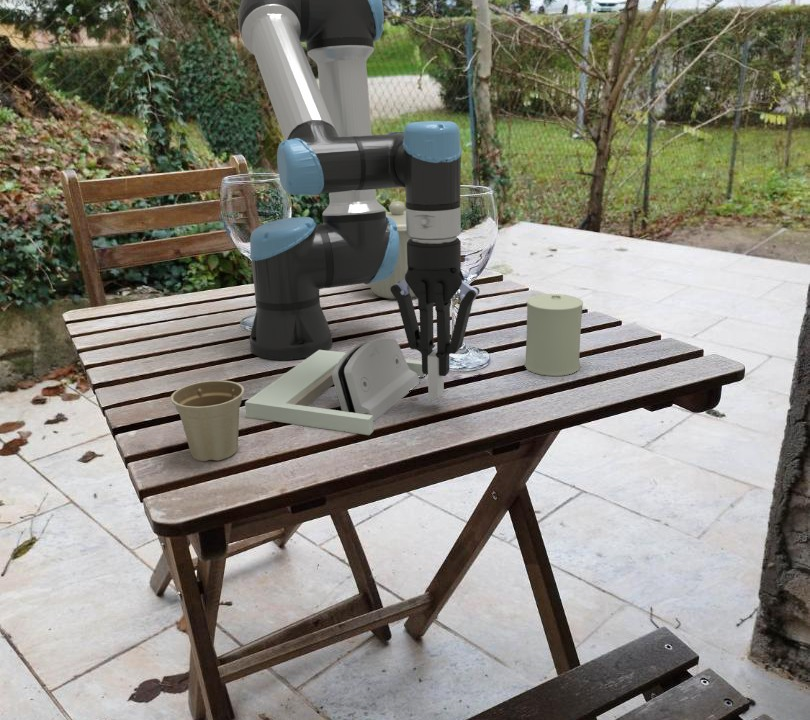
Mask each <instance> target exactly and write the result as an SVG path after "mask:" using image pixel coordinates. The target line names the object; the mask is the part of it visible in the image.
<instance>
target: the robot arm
mask: <svg viewBox="0 0 810 720" xmlns="http://www.w3.org/2000/svg"><path fill="white" fill-rule="evenodd" d="M237 14H238V16H237V22H238V23H237V24H238V29H239V33H240V37H241V40H242V42H243V44H244V47H245V48H246V49H247V51H248V52H249V53H251V54H252V55H253V56H254V57H255V60H256V63H257V66H258V68H259V72H260V75H261V77H262V80H263V83H264V86H265V89H266V90H267V91H266V92H267V94H268V98H269V101H270V103H271V106H272V109H273V111H274V114H275V117H276V120H277V122H278V125H279V128H280V131H281V134H282V138H283V141H281V142H280V143H279V144H278V146H277V151H276V154H277V155H276V158H277V159H276V162H277V163H276V164H277V165H276V167H277V172H278V176H279V182H280V185H281V188H282V189H283V190H284V192H286V193H287V194H289V195H293V196H294V195H297V196H299V195H300V196H302V195H303V196H304V195H310V196H317V195H319V194H320V195H321V194H328V197H329V203H328V205H327V206H326V208H325V209H324V211H323V212H322V223H321V224H316V222H315V221H314V219H313V218H311V217H310V216H298V217H293V216H292V217H287V218H282V219H276V220H272V221H270V222H267V223H264V224H261V225H259V226H258V227H256V228H255V229H254V230H253V231H252V233H250V234H251V235H250V239H249V240H250V241H249V243H250V245H249V247H250V250H249V252H250V254H249V258H250V260H251V267H252V277H253V288H254V298H255V308H256V309H255V314H254V318H253V323H252V327H251V331H250V335H249V336H250V337H249V346H250V351H251V353H252V354H253V355H254V356H256V357H259V358H262V359H267V360H276V361H277V360H278V361H291V360H299V359H307V358H308V357H310V356H311V355H312V354H314V353H315V352H317V351H318V350H326V351H329V350H330V349H331V347H332V346H333V337H332V336H333V335H332V330H331V328H330V326H329V323H328V321H327V318H326V316H325V314H324V311H323V309H322V306H321V301H320V300H321V299H320V290H322V289H332V288H337V287H338V288H339V287H346V286H353V285H354V286H355V285H361V284H365V285H370V283H372V282H377V281H383V280H386V279H388V278H389V277H390V276H391V275H392V273H393V272H394V269H395V268H396V265H397V261H398V256H399V233H398V232H397V225H396V223H395V221H394V220H393V219H391V218H389V217H386V212H387V211H386V207H384V206H383V205H382V204H381V203H380V202H379V201H378V199H377V190H380V189H381V190H382V189H393V188H404V189H405V190H404V192H405V211H406V226H407V235H408V236H409V237H410V238H411V239H409V240H408V242H407V264H408V270H407V273H406V274H405V279H404V280H403V281H401V282H398V283H396V284H395V285H393V286H392V287H391V288H390V290H391V292H392V294H393V296H394V297H395V299H394V300H395V301H397V305H398V310H399V314H400V317H401V320H402V324H403V329H404V332H405V333H404V334H405V336H406V340H407V344H408V348H409V349H411V350H416V351H418V352H419V353H420V355H421V361H422V372H423V374H427V384H428V386H427V389H428V394H427V397H428V398H430V399H439V397H440V396H442V394H443V393H444V392H445V391H444V390H445V387H444V384H445V383H444V377H446V376H447V375H449V372H450V355H451V354H456V353H458V351H459V350H460V349H461V348H462V346H463V343H464V339H465V334H466V332H467V331H466V330H467V327H468V323H469V320H470V319H469V318H470V315H471V311H472V307H473V303H474V301H476V299H477V297H478V296H479V294H480V292H481V291H480V288H479V287H477V286H471V285H470V284H468V283H467V282H466V281H465V276H464V274H463V272H462V258H461V257H462V255H461V254H462V250H461V249H462V245H461V244H462V241H461V240H460V239H459V236H460V235H461V234H462V233H461V232H462V230H461V228H462V227H461V226H462V225H461V223H462V222H461V217H462V216H461V215H462V214H461V178H462V177H461V173H462V171H461V169H462V168H461V167H462V165H461V162H462V161H461V158H462V147H461V137H460V136H461V135H460V127H459V125H458V124H457V123H455V122H454V121H451V120H450V121H448V120H445V121H442V120H427V121H413V122H409V123H407V124H406V125H405V127H404V129H403V131H397V132H396V131H392V132H388V133H385V134H372V123H371V122H372V120H371V108H370V107H371V106H370V96H369V95H370V94H369V84H368V82H369V81H368V71H367V70H368V69H367V68H368V67H367V60H368V59H369V58H370V56H371V55H372V54H373V53H374V51H375V47H374V43H376V42H377V41H378V40H380V39H381V37H382V35H383V33H384V24H383V23H384V22H385V14H384V4H383V0H241V1H240V5H239V8H238V13H237ZM302 43H306V51H307V55H306V52H305V50H304V47H303V45H302ZM307 56H309V59H310V58H311V60H312V61H314V63H316V66H317V72H318V73H317V75H318V82H317V80H316V77H315V75H314V72H313V70H312V66H311V65H310V62H309V60H308V58H307ZM409 287H410V288H411V290H412V291H413V293H414V294H415V296H416V297H415V298H417V305H418V306H417V307H418V311H419V322H418V319H417V314H416V311H415V308H414V307H415V306H414V302H413V300H412V298H411V296H410V288H409ZM458 291H459V292H460V293H459V299H461V301H460V303H459V306H458V310H457V314H456V318H455V323H454V327H453V331H452V336H451V305H452V299H453V298H454V297H455V295H456V294H457V292H458ZM434 307H435V308H434ZM434 310H435V312H436V344H434V343H435V342H434V339H435V338H434ZM435 347H436V349H434V348H435Z"/></svg>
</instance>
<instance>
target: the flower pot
mask: <svg viewBox="0 0 810 720" xmlns="http://www.w3.org/2000/svg"><path fill="white" fill-rule="evenodd" d="M244 395H245V387H244V386H243V385H242V384H240V383H238V382H235V381H230V380H225V379H224V380H222V379H221V380H220V379H219V380H218V379H217V380H216V379H215V380H205V381H203V380H202V381H199V382H198V381H196V382H194V383H189V384H187V385H185V386H184V385H183V386H182V387H180V388H178V389H177V390H175V391H174V392H173V393H172V394H171V395H170V401H171V403H172V405H174V406H175V409H176V412H177V413H178V414H179V416H180V420H181V424H182V427H183V430H184V433H185V438H186V442H187V445H188V448H189V451H190V455H191V457H192V458H194V459H195V460H197V461H200V462H207V461H210V460H213V461H222V460H225V459H227V458H229V457H231V456H233V455H235V454H236V453H237V450H238V448H239V429H240V428H239V426H240V406H241V405H242V400H243V399H242V397H243V396H244Z"/></svg>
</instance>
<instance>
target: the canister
mask: <svg viewBox="0 0 810 720" xmlns="http://www.w3.org/2000/svg"><path fill="white" fill-rule="evenodd" d="M388 209H389V211H386V217H389V218H391V219H393V220H394V221H395V223H396V225H397V232H398V233H399V256H398V261H397V265H396V268H395V269H394V272H393V273H392V275H391V276H390V277H389V278H388V279H386V280H383V281H377V282H372V283H370V284H369V288H370V289H371V291H372V293H374V295H376V296H378V297H380V298H382V299H389V300H396V299H395V297H394V296H393V294H392V292H391V290H390V288H391V287H392V286H393V285H395V284H396V283H398V282H401V281H403V280H404V279H405V274H406V273H407V270H408V264H407V242H408V240H409V239H411V238H410V237H409V236H408V235H407V226H406V204H404V202H402V201H400V200H396V201H392V202H391V203H390V204H389V206H388ZM409 288H410V287H409ZM410 296H411V299H412V298H417V297H416V296H415V294H414V293H413V291H412V290H411V288H410Z"/></svg>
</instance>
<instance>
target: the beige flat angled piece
mask: <svg viewBox="0 0 810 720" xmlns="http://www.w3.org/2000/svg"><path fill="white" fill-rule="evenodd" d="M346 353H347V352H343V351H336V350H335V351H333V350H327V351H326V350H318V351H317V352H315V353H314V354H312V355H311V356H310V357H307V358H304V360H303V361H301V362H300V363H298V364H297V365H295V366H294V367H292V368H291V369H290V370H288V371H287V372H285V373H284V374H283V375H281V376H280V377H278V378H277V379H276V380H274V381H273V382H271V383H269V384H268V385H267V386H265V387H264V388H263V389H261V390H260V391H259V392H257V393H256V394H254V395H253V396H252V397H250V398H248V399H247V400H246V401H244V409H245V415H246V416H245V417H246V418H251V419H256V420H257V419H258V420H264V421H265V420H266V421H270V422H271V421H272V422H278V423H285V424H291V425H296V426H297V425H298V426H304V427H311V428H318V429H325V430H330V431H337V432H344V431H345V433H353V434H357V433H358V434H359V435H365V436H370V435H371V434H372V433H373V432H374V422H373V415H368V414H367V413H364V414H359V413H352V412H345V411H342V410H338V409H337V410H336V409H330V408H323V407H315V406H309V405H310V404H312V403H313V402H314V401H315V400H316V399H318V398H319V397H320V396H321V395H323V394H324V393H325V392H326V391H327V390H329V389H330V388H331V387H332V386H333V385H334V382H333V378H332V372H333V370H334V368H335V366H336V365H337V363H338V362H339V361H340V359H341V358H342V357H343V356H344V355H345V354H346ZM405 360H406V362H407V365H408V367H409V369H410V370H412V371H414V372H416V373H417V375H418V376H420V377H424V376H425V375H426V374H423V372H422V360H418V359H408V358H405ZM426 376H427V375H426ZM426 376H425V377H426ZM425 377H424V378H425ZM307 405H308V406H307Z"/></svg>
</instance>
